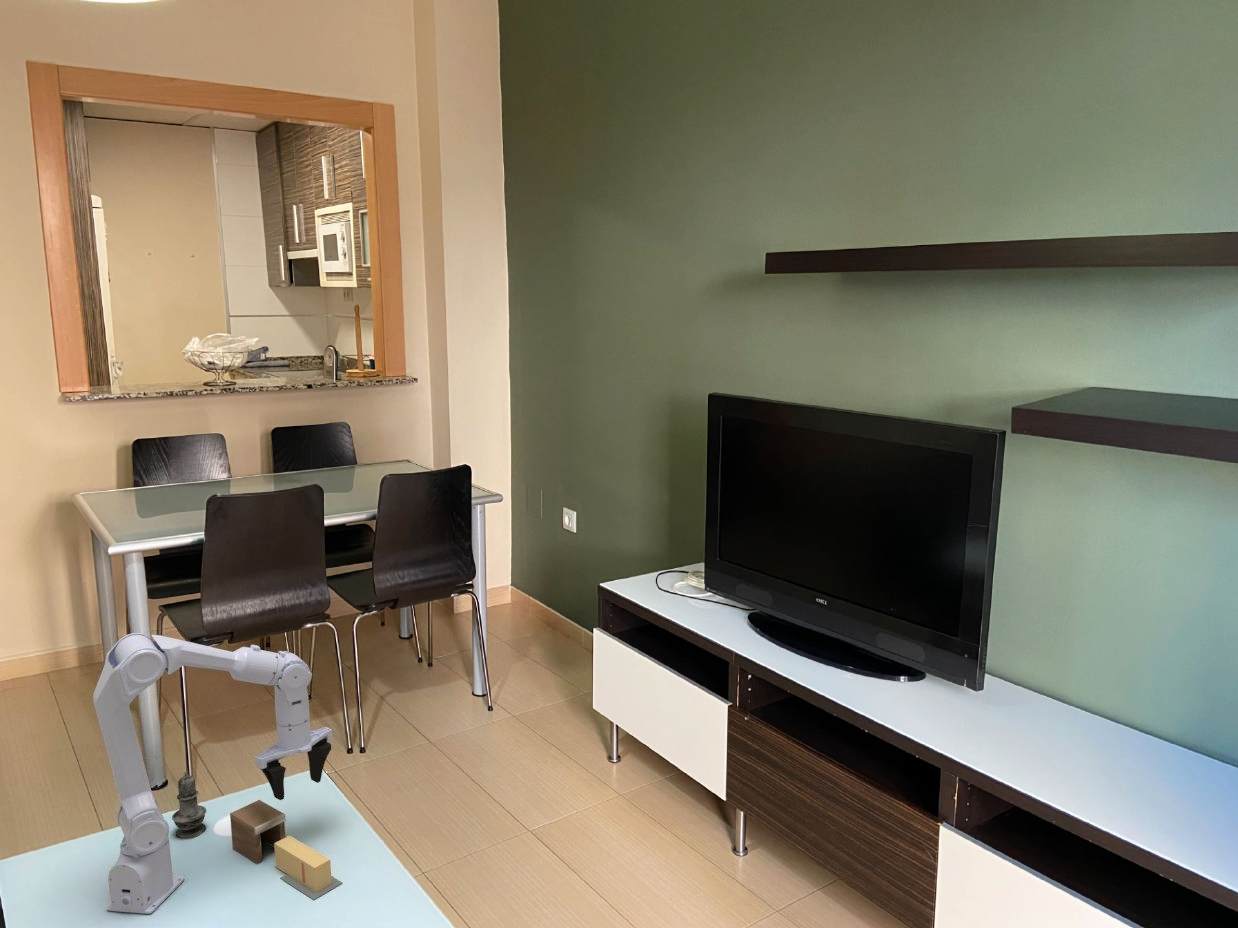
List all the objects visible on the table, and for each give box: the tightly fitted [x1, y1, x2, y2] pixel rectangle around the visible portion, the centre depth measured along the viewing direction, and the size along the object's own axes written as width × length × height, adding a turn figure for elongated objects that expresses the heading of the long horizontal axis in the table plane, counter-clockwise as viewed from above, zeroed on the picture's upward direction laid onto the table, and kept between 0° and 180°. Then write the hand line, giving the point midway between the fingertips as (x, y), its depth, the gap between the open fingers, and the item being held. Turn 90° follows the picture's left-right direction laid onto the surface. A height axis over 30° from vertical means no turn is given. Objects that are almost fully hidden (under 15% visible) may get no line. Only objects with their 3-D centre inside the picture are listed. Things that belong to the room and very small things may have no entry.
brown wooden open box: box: [229, 799, 287, 865], centre depth 163 cm, size 6×8×7 cm
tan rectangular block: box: [273, 835, 332, 892], centre depth 155 cm, size 3×12×4 cm, turn 53°
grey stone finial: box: [171, 771, 207, 840], centre depth 168 cm, size 6×6×12 cm
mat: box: [280, 873, 343, 901], centre depth 154 cm, size 6×10×1 cm, turn 53°
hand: (297, 788), depth 165 cm, fingers open, 7 cm apart
